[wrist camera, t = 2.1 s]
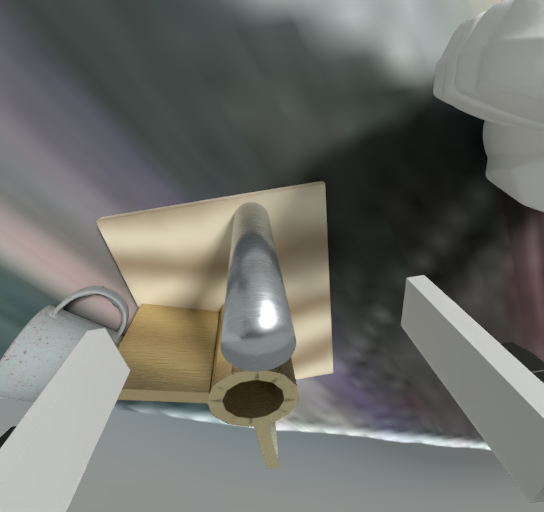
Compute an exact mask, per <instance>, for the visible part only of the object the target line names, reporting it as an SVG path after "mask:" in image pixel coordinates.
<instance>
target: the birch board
mask: <svg viewBox="0 0 544 512" xmlns="http://www.w3.org/2000/svg"><path fill="white" fill-rule="evenodd" d="M248 202H255V203H258V204H260V205H262V206H263V207H264V208H265V209H266V210H267V212H268V215H269V220H270V224H271V229H272V233H273V238H274V242H275V247H276V251H277V256H278V260H279V265H280V269H281V274H282V278H283V283H284V287H285V292H286V296H287V300H288V305H289V309H290V314H291V318H292V323H293V327H294V332H295V336H296V348H295V351H294V353H293V355H292V356H291V358H292V363H293V369H294V374H295V379H301V378H306V377H312V376H318V375H324V374H330V373H333V356H332V332H331V308H330V284H329V261H328V237H327V213H326V189H325V183H324V182H323V181H318V182H312V183H306V184H300V185H294V186H288V187H281V188H275V189H269V190H263V191H257V192H251V193H245V194H239V195H233V196H227V197H221V198H215V199H209V200H203V201H197V202H191V203H185V204H178V205H172V206H166V207H160V208H154V209H148V210H142V211H136V212H130V213H124V214H118V215H112V216H106V217H101V218H100V219H98V220H97V221H96V223H97V225H98V227H99V229H100V231H101V233H102V235H103V237H104V239H105V241H106V243H107V245H108V247H109V249H110V251H111V253H112V255H113V257H114V259H115V261H116V263H117V265H118V267H119V269H120V271H121V273H122V275H123V277H124V279H125V281H126V283H127V285H128V287H129V289H130V291H131V293H132V295H133V297H134V299H135V301H136V303H137V305H138V307H139V308H140V306H141V304H152V305H162V306H172V307H181V308H191V309H201V310H211V311H219V313H220V310H221V307H222V305H223V304H224V303H225V297H226V287H227V278H228V268H229V259H230V249H231V240H232V230H233V221H234V214H235V211H236V210H237V208H238V207H239V206H241V205H242V204H244V203H248Z"/></svg>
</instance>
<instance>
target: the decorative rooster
mask: <svg viewBox="0 0 544 512" xmlns="http://www.w3.org/2000/svg"><path fill="white" fill-rule="evenodd" d="M433 94H434V96H435V97H436V98H438V99H440V100H442V101H444V102H445V103H447V104H450V105H452V106H454V107H455V108H457V109H459V110H461V111H463V112H465V113H467V114H470V115H472V116H475V117H478V118H480V119H483V120H485V121H484V126H483V144H484V148H485V152H486V155H487V157H488V161H487V167H486V178H487V179H488V180H489V181H490V182H492V183H493V184H494V185H496V186H497V187H498V188H500V189H501V190H503V191H504V192H505V193H507V194H508V195H510V196H511V197H512V198H514V199H515V200H517V201H518V202H519V203H521V204H523V205H525V206H527V207H530V208H533V209H536V210H538V211H541V212H544V0H504V1H501V2H499V3H497V4H496V5H494V6H493V7H491V8H490V9H489V10H488V11H485V12H482V13H480V14H478V15H476V16H475V17H472V18H470V19H468V20H466V21H465V22H464V23H462V24H461V25H460V26H459V27H458V28H457V30H456V31H455V33H454V34H453V36H452V38H451V40H450V42H449V43H448V45H447V47H446V49H445V51H444V53H443V55H442V56H441V58H440V60H439V61H438V63H437V66H436V73H435V79H434V86H433Z"/></svg>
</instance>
